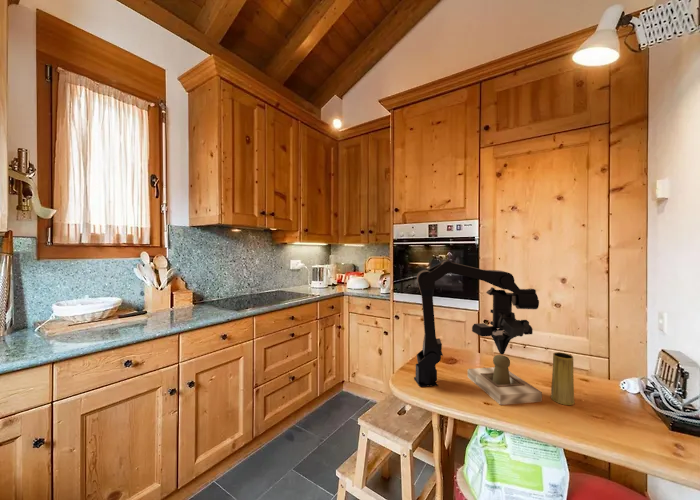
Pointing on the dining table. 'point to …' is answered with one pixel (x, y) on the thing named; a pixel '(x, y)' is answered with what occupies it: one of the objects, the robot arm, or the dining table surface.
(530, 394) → the socket board
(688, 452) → the dining table surface
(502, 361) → the olive tall rounded piece
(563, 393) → the vase
